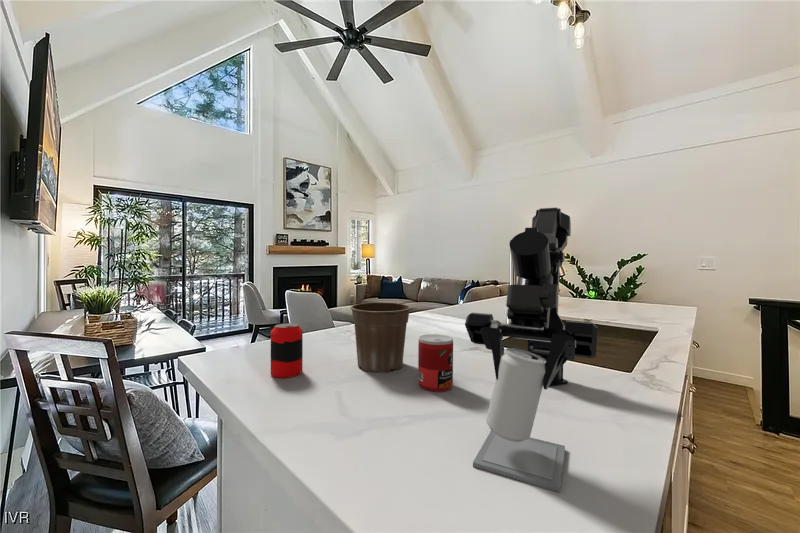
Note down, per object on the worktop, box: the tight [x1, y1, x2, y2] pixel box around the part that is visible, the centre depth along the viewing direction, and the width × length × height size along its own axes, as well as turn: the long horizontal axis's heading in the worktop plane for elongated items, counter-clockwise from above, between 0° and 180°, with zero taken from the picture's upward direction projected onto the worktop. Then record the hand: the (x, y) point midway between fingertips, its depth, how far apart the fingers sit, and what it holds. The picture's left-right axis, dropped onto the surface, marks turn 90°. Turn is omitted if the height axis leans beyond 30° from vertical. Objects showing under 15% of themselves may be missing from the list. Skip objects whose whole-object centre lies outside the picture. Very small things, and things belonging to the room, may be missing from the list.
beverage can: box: [485, 347, 546, 442], centre depth 51 cm, size 6×6×12 cm
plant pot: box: [350, 302, 412, 373], centre depth 93 cm, size 16×16×16 cm
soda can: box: [270, 322, 304, 379], centre depth 86 cm, size 8×8×12 cm
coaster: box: [472, 430, 566, 493], centre depth 50 cm, size 11×11×1 cm
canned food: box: [417, 333, 454, 393], centre depth 79 cm, size 8×8×11 cm
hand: (520, 384), depth 49 cm, fingers closed on beverage can, 6 cm apart
